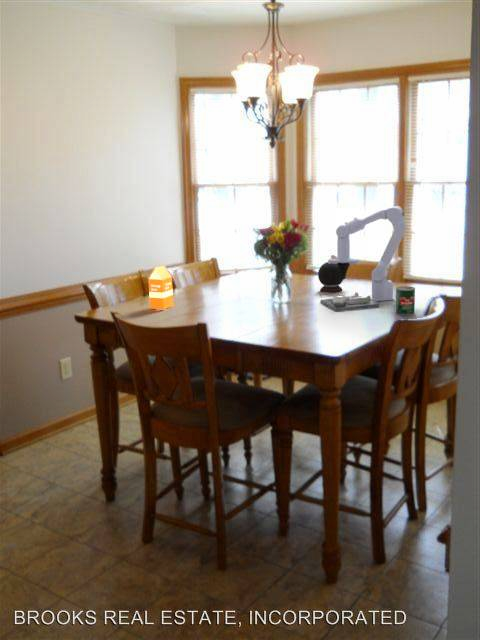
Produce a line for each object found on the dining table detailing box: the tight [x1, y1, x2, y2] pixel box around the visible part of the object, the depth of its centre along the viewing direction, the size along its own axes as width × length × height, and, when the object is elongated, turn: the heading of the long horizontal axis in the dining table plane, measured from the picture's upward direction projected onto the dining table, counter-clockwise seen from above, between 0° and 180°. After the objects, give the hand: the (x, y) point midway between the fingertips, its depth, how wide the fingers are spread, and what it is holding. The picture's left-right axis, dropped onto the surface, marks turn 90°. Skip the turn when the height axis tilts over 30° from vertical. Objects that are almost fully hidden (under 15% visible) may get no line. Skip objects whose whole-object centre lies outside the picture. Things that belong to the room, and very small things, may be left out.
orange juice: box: [147, 264, 175, 309], centre depth 323 cm, size 8×9×20 cm
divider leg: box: [345, 291, 360, 303], centre depth 317 cm, size 11×2×3 cm, turn 139°
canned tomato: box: [395, 285, 416, 316], centre depth 296 cm, size 8×8×11 cm
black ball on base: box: [317, 261, 344, 294], centre depth 349 cm, size 13×13×15 cm
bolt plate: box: [319, 294, 380, 312], centre depth 316 cm, size 21×19×6 cm
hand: (343, 278), depth 330 cm, fingers closed
